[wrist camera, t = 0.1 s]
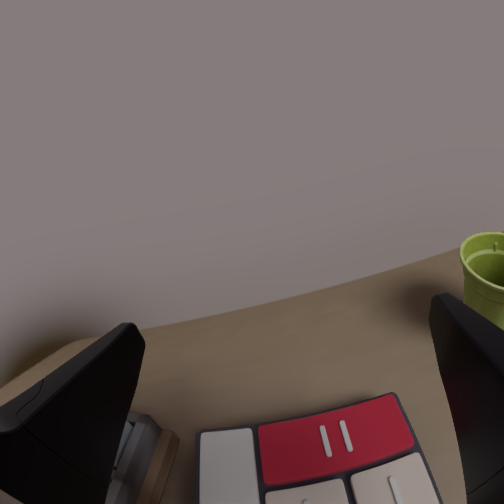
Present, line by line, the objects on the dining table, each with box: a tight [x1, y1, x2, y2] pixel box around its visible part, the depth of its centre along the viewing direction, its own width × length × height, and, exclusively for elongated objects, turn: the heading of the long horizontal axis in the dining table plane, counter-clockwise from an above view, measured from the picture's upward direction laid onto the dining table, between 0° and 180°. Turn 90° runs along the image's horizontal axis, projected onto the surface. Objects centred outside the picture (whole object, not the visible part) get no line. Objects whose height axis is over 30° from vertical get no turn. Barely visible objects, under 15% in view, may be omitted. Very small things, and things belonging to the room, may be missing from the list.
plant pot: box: [460, 232, 504, 330], centre depth 20 cm, size 9×9×9 cm
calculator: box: [195, 392, 443, 504], centre depth 15 cm, size 11×4×15 cm
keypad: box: [105, 412, 180, 504], centre depth 17 cm, size 12×14×4 cm
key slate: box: [113, 420, 134, 469], centre depth 18 cm, size 4×4×2 cm
